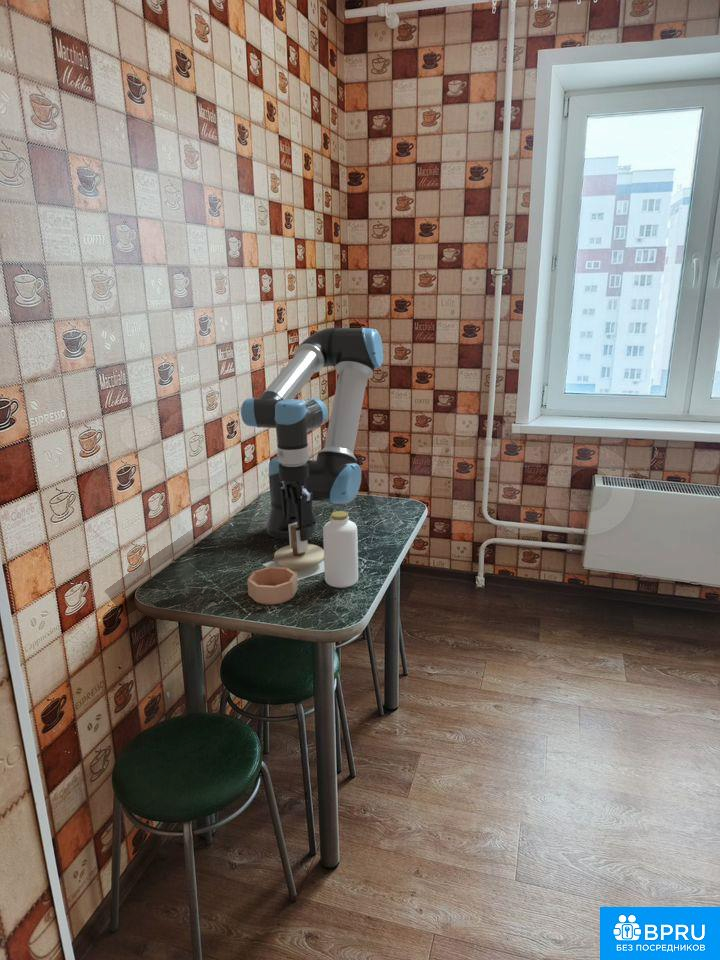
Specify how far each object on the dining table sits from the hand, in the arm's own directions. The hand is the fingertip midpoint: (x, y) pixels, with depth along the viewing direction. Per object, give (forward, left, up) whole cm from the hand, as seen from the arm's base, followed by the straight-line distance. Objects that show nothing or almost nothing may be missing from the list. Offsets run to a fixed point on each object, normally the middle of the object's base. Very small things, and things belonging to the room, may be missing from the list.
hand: (298, 548), depth 169 cm
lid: (0, 0, -3) cm, 3 cm away
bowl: (+10, -13, -5) cm, 18 cm away
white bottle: (+14, +4, -5) cm, 16 cm away
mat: (0, 0, -5) cm, 5 cm away
